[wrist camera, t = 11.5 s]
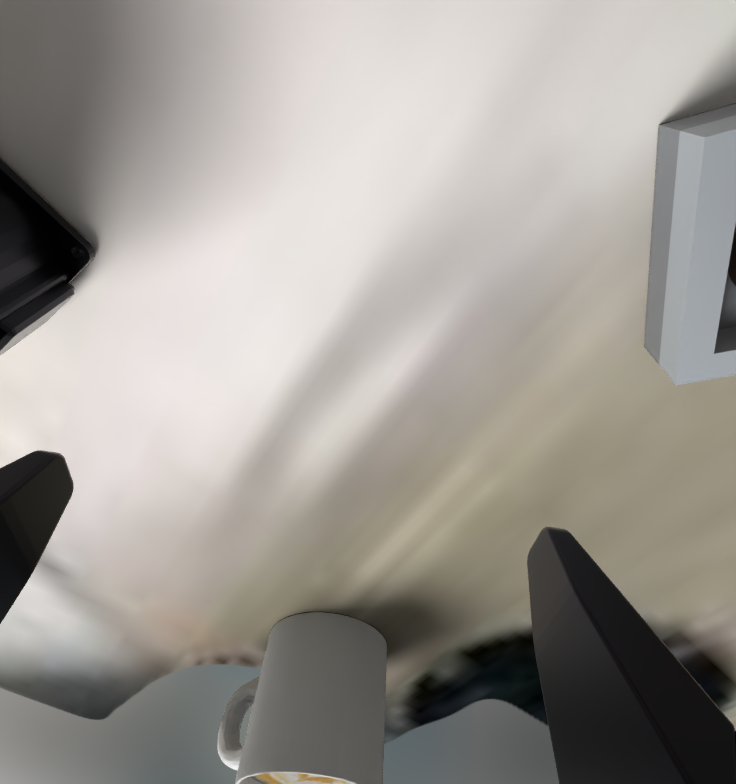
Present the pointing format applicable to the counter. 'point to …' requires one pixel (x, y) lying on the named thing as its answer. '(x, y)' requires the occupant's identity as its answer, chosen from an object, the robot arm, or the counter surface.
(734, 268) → the tan round-ended cylinder
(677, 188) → the socket base
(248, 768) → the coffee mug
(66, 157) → the counter surface
